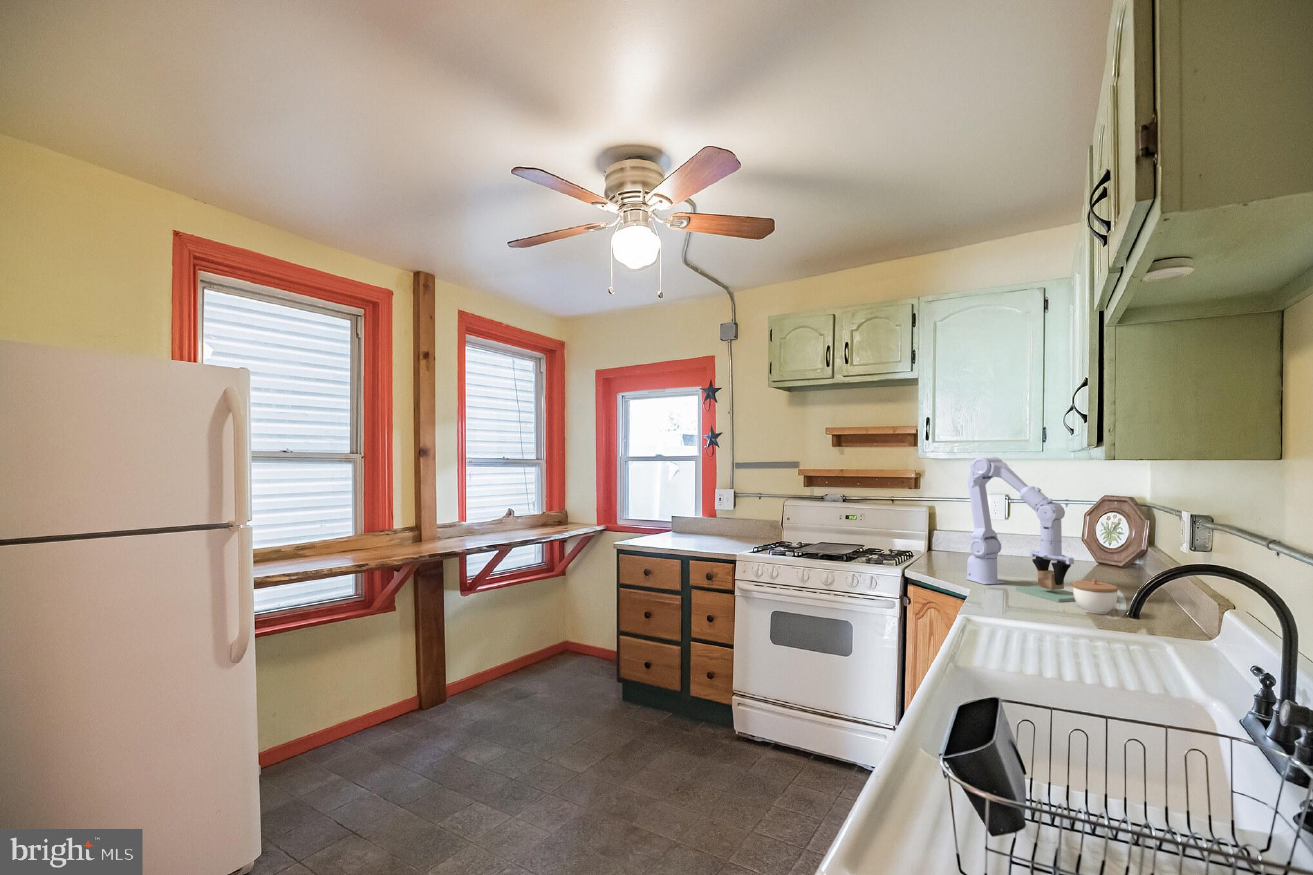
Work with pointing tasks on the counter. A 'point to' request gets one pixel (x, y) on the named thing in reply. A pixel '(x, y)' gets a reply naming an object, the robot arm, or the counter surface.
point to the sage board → (1048, 593)
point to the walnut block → (1048, 580)
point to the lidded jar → (1095, 596)
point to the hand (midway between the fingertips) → (1051, 582)
